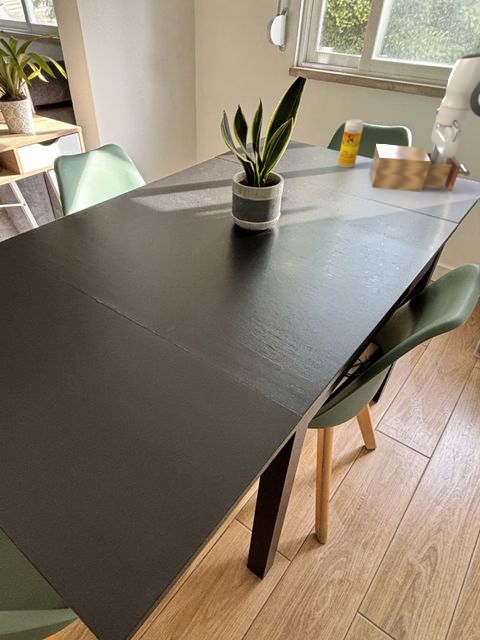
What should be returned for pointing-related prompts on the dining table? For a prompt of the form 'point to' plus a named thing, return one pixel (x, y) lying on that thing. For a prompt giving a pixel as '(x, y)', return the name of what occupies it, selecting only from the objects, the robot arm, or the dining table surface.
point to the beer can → (350, 143)
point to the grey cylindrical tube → (434, 155)
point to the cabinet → (399, 167)
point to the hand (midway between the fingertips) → (436, 163)
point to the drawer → (444, 174)
